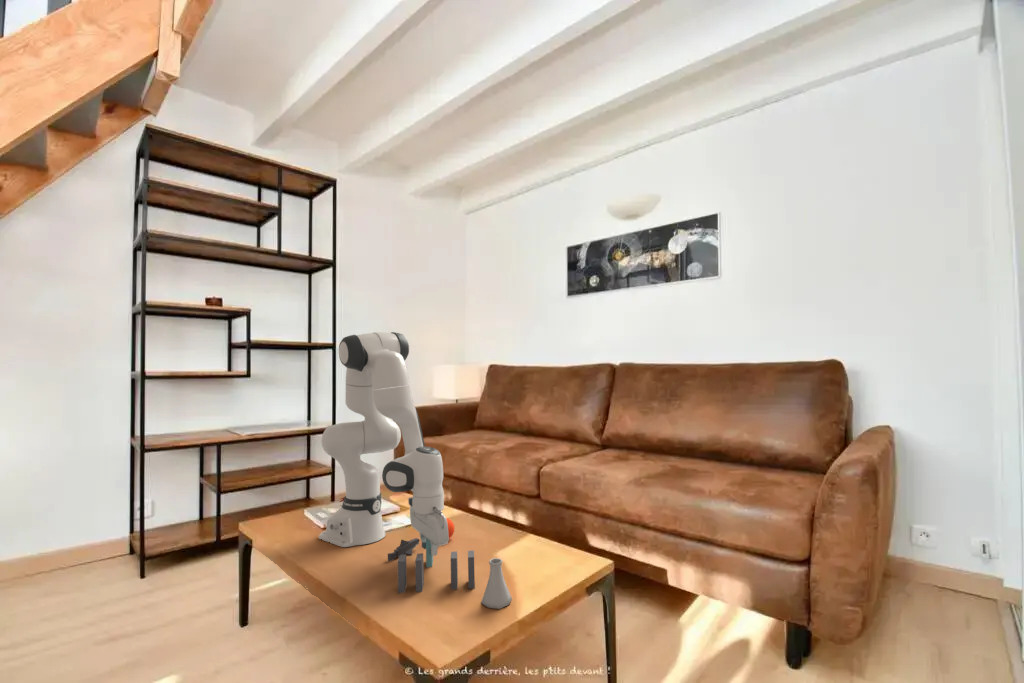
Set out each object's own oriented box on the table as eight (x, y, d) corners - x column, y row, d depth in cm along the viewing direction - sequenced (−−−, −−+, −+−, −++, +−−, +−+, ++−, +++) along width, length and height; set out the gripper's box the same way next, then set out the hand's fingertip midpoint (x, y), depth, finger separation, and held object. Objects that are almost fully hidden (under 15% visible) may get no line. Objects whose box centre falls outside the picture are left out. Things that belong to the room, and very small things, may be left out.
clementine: (428, 538, 161) (428, 516, 162) (446, 533, 166) (446, 512, 166) (439, 545, 155) (439, 522, 155) (458, 539, 159) (458, 518, 159)
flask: (500, 612, 113) (499, 569, 114) (475, 604, 117) (475, 563, 118) (516, 599, 120) (515, 558, 120) (492, 592, 123) (491, 552, 124)
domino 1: (398, 593, 124) (397, 561, 124) (400, 585, 128) (400, 554, 128) (404, 592, 124) (403, 561, 124) (406, 584, 128) (406, 554, 129)
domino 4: (451, 589, 125) (450, 558, 125) (451, 582, 129) (451, 551, 130) (457, 589, 125) (456, 558, 125) (457, 581, 130) (457, 551, 130)
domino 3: (426, 567, 139) (425, 539, 139) (427, 560, 143) (427, 533, 143) (431, 567, 139) (431, 538, 139) (433, 560, 143) (432, 533, 144)
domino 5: (468, 588, 125) (467, 557, 126) (468, 580, 130) (468, 550, 130) (474, 588, 126) (474, 557, 126) (474, 580, 130) (473, 550, 130)
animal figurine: (393, 567, 142) (390, 551, 142) (384, 563, 145) (381, 547, 145) (424, 547, 151) (422, 532, 151) (415, 544, 154) (413, 529, 154)
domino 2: (415, 592, 124) (415, 560, 124) (417, 584, 129) (417, 553, 129) (422, 591, 124) (421, 560, 125) (423, 583, 129) (423, 553, 129)
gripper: (453, 510, 135) (454, 560, 134) (425, 493, 152) (426, 538, 151) (432, 515, 131) (433, 566, 131) (406, 497, 148) (406, 542, 148)
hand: (429, 551), depth 141 cm, fingers closed on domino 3, 5 cm apart
